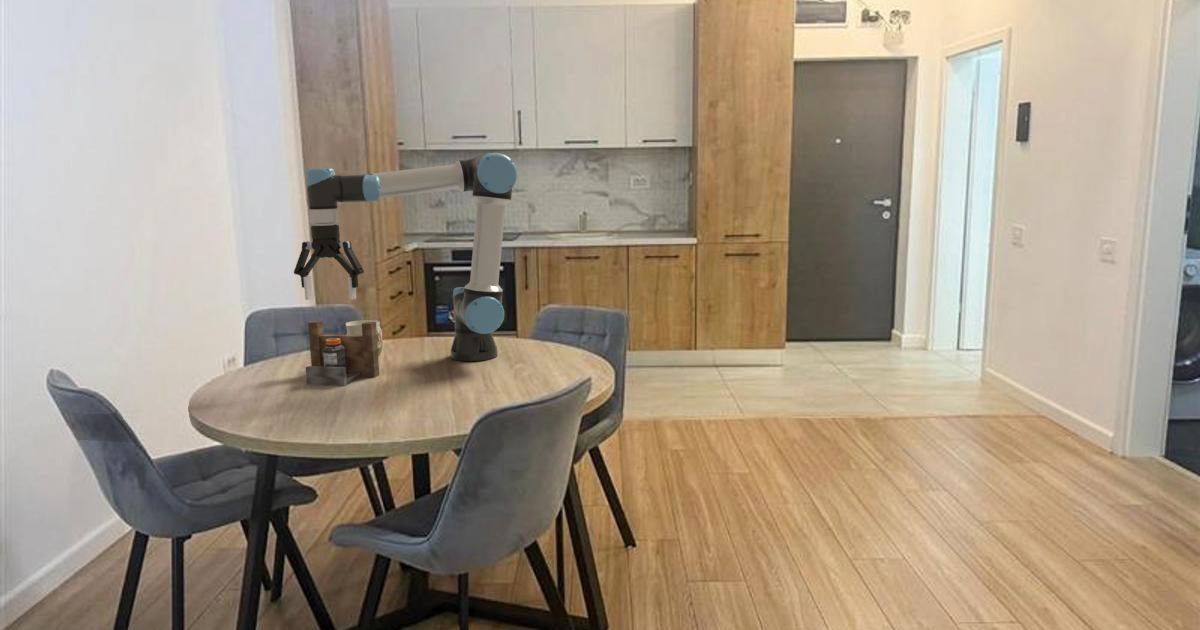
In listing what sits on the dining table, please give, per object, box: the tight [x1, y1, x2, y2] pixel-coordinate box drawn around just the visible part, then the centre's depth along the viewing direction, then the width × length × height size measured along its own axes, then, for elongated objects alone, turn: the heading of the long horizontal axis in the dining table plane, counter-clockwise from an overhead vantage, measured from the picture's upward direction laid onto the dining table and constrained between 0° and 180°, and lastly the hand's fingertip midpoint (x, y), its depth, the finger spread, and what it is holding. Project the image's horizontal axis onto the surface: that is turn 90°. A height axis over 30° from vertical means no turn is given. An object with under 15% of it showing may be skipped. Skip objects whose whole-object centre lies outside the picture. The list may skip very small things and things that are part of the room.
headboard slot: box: [305, 320, 380, 387], centre depth 226 cm, size 20×13×16 cm, turn 80°
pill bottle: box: [323, 338, 347, 376], centre depth 225 cm, size 6×6×11 cm
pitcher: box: [344, 319, 383, 360], centre depth 246 cm, size 11×18×14 cm, turn 165°
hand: (331, 299), depth 222 cm, fingers open, 13 cm apart
